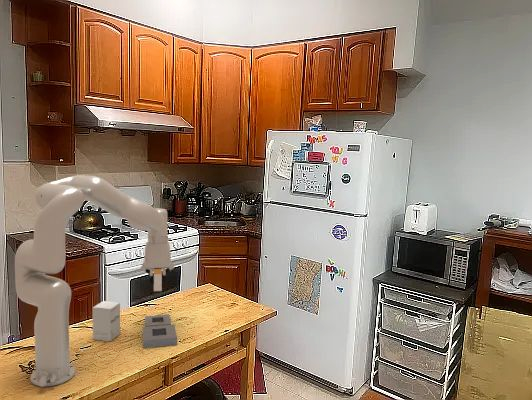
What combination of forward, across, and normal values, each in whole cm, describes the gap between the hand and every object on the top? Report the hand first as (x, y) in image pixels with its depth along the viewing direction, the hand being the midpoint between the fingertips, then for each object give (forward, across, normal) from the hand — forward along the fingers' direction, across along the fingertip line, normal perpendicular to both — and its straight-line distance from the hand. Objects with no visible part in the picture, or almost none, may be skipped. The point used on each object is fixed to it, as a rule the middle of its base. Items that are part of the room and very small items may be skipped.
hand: (157, 284), depth 174 cm
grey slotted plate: (+17, 0, 0) cm, 17 cm away
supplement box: (+17, +19, +7) cm, 27 cm away
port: (+17, 0, +14) cm, 22 cm away
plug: (+2, 0, 0) cm, 2 cm away
